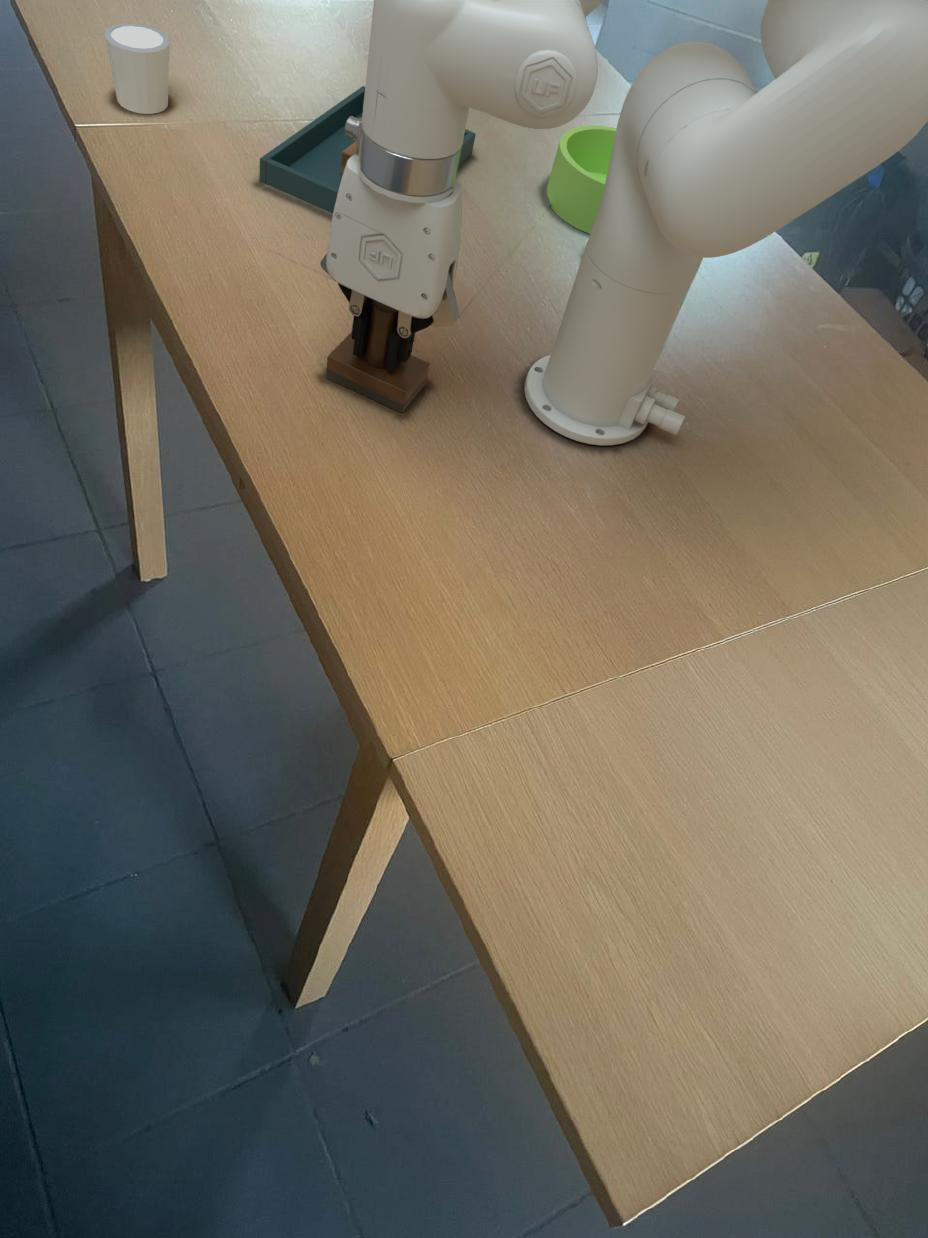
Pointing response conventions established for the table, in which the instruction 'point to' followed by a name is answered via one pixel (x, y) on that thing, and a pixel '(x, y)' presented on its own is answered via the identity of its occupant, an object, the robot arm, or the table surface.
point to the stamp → (378, 364)
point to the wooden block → (348, 155)
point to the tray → (321, 155)
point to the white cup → (139, 66)
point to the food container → (580, 174)
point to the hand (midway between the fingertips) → (380, 354)
